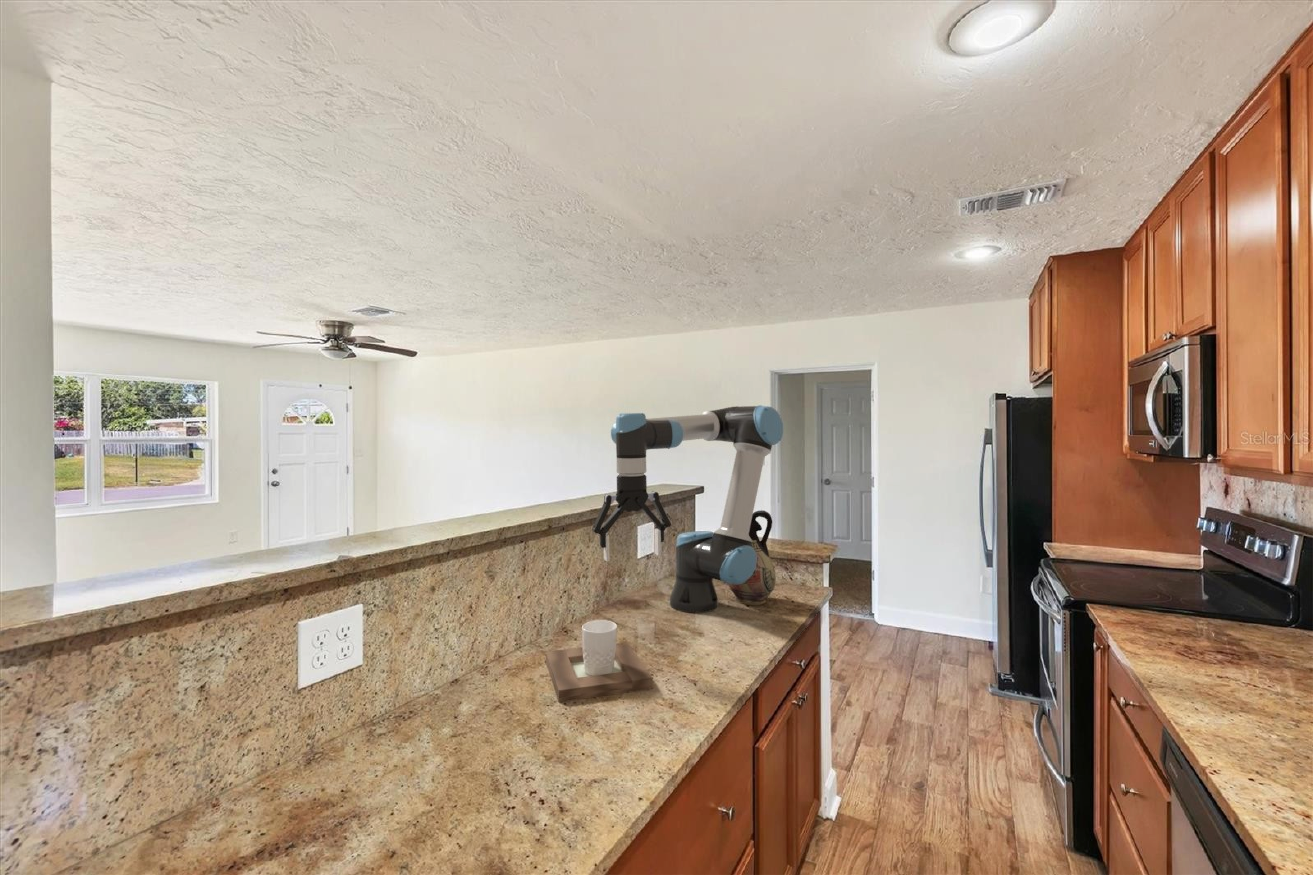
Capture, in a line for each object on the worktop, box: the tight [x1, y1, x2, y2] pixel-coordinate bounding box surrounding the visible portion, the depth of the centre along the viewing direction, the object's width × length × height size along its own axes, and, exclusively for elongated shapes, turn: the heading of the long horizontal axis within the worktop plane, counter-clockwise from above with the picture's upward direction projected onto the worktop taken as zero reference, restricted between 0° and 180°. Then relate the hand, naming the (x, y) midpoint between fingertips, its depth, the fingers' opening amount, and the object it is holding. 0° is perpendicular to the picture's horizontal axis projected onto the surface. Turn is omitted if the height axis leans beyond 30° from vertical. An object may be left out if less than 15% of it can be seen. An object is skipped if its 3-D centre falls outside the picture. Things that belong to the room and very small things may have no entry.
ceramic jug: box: [727, 509, 777, 606], centre depth 178 cm, size 17×15×30 cm
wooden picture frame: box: [545, 642, 654, 703], centre depth 124 cm, size 20×20×2 cm
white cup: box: [581, 619, 618, 676], centre depth 124 cm, size 8×8×10 cm
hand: (632, 557), depth 140 cm, fingers open, 13 cm apart
